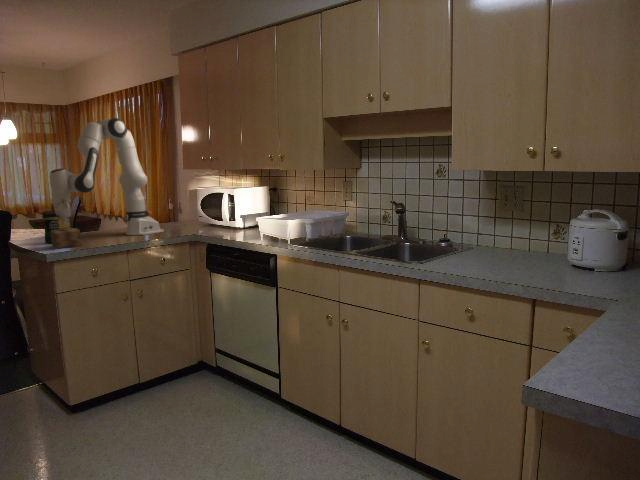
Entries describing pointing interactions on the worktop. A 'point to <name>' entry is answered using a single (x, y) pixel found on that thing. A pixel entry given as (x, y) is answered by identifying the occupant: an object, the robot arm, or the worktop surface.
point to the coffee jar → (50, 224)
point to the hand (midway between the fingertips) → (64, 224)
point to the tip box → (66, 238)
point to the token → (63, 224)
